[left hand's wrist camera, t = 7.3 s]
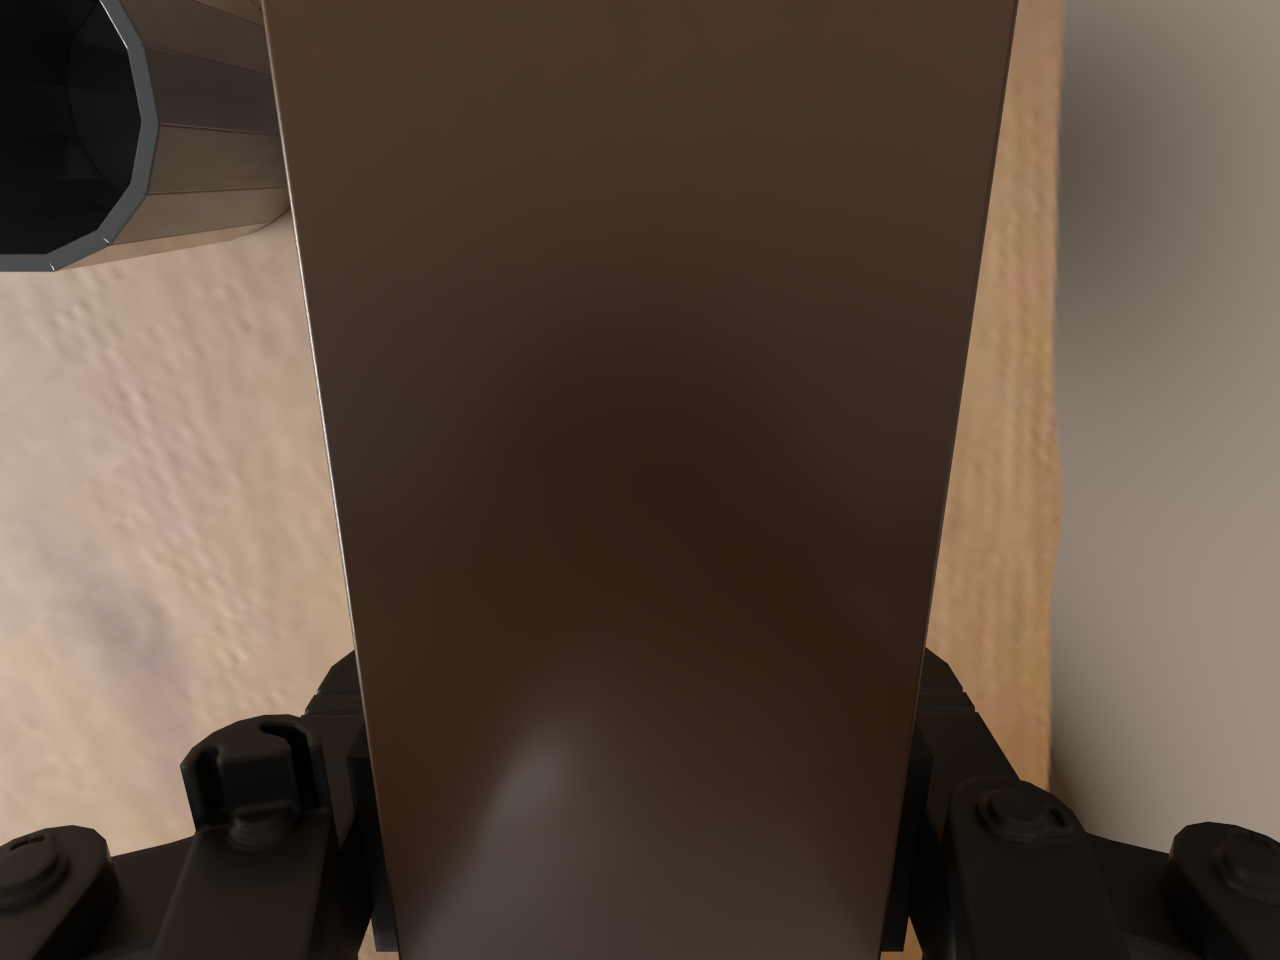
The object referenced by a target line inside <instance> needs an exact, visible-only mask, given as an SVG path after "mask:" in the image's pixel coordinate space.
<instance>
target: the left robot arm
mask: <svg viewBox="0 0 1280 960" xmlns="http://www.w3.org/2000/svg"><path fill="white" fill-rule="evenodd" d="M180 768H181V772H182V776H183V780H184V784H185V788H186V792H187V796H188V800H189V804H190V808H191V813H192V817H193V821H194V825H195V829H196V832H195V835H194V836H191V837H188V838H185V839H182V840H178V841H175V842H172V843H169V844H164V845H160V846H156V847H152V848H147V849H143V850H139V851H135V852H130V853H126V854H122V855H118V856H113V857H111V856H110V852H109V849H108V846H107V843H106V840H105V839H104V838H103V837H102V836H101V835H100V834H99V833H98V832H96V831H95V830H94V829H91V828H85V827H80V826H75V825H70V826H62V827H54V828H46V829H42V830H39V831H36V832H33V833H31V834H28V835H25V836H22V837H19V838H16V839H13V840H12V841H10V842H8V843H6V844H4V845H2V846H1V847H0V960H358V952H359V949H360V947H361V944H362V941H363V938H364V935H365V933H366V930H367V927H368V924H369V922H370V919H371V921H372V928H373V934H374V940H375V947H376V952H398V946H397V939H396V933H395V926H394V919H393V912H392V905H391V898H390V891H389V884H388V877H387V870H386V863H385V856H384V849H383V843H382V836H381V829H380V822H379V815H378V808H377V801H376V794H375V787H374V780H373V773H372V766H371V760H370V753H369V746H368V739H367V732H366V725H365V718H364V711H363V704H362V697H361V690H360V683H359V676H358V670H357V663H356V656H355V649H354V650H353V651H352V652H350V653H349V654H348V655H347V656H345V657H344V658H343V659H341V660H340V661H339V662H337V663H336V664H335V665H333V666H332V667H331V669H330V670H329V672H328V674H327V675H326V677H325V678H324V680H323V682H322V683H321V685H320V687H319V688H318V690H317V695H314V696H313V698H312V699H311V701H310V703H309V704H308V706H307V708H306V709H305V715H302V716H301V717H296V716H293V715H289V714H284V715H262V716H258V717H253V718H249V719H245V720H241V721H237V722H235V723H233V724H231V725H228V726H226V727H224V728H222V729H220V730H217V731H215V732H213V733H212V734H210V735H209V736H208V737H206V738H205V739H204V740H202V741H201V742H200V743H198V744H197V745H196V746H194V747H193V748H192V749H191V750H190V752H189V753H188V755H187V756H186V757H185V759H184V760H183V761H182V763H181V764H180ZM909 916H910V919H911V922H912V925H913V928H914V930H915V933H916V936H917V939H918V941H919V944H920V947H921V950H922V953H923V954H922V960H1280V843H1279V842H1277V841H1275V840H1274V839H1272V838H1270V837H1268V836H1266V835H1263V834H1260V833H1257V832H1254V831H1251V830H1248V829H1245V828H1242V827H1240V826H1236V825H1230V824H1222V823H1214V822H1203V823H1198V824H1192V825H1187V826H1186V827H1185V828H1183V829H1182V830H1181V831H1180V832H1179V833H1178V834H1177V835H1176V836H1175V837H1174V840H1173V843H1172V847H1171V850H1170V853H1169V854H1168V853H1164V852H1159V851H1155V850H1151V849H1146V848H1142V847H1138V846H1134V845H1129V844H1125V843H1121V842H1117V841H1112V840H1109V839H1106V838H1102V837H1099V836H1096V835H1093V834H1089V833H1087V832H1085V831H1084V829H1083V827H1082V826H1081V824H1080V822H1079V821H1078V819H1077V818H1076V816H1075V814H1074V813H1073V811H1072V810H1070V809H1069V808H1068V807H1067V806H1066V805H1065V804H1063V803H1062V802H1061V801H1060V800H1059V799H1057V798H1056V797H1055V796H1054V795H1053V794H1051V793H1049V792H1047V791H1045V790H1043V789H1041V788H1039V787H1037V786H1035V785H1033V784H1031V783H1029V782H1025V781H1021V780H1020V779H1019V777H1018V776H1017V774H1016V773H1015V771H1014V769H1013V768H1012V766H1011V765H1010V763H1009V761H1008V760H1007V758H1006V757H1005V755H1004V753H1003V752H1002V750H1001V749H1000V747H999V745H998V744H997V742H996V740H995V739H994V737H993V736H992V734H991V732H990V731H989V729H988V728H987V726H986V724H985V723H984V721H983V720H982V718H981V716H980V715H979V713H978V712H975V707H974V705H973V704H972V702H971V700H970V699H969V697H968V695H967V694H966V692H963V687H962V686H961V684H960V683H959V681H958V679H957V678H956V676H955V675H954V673H953V671H952V670H951V668H950V667H949V665H948V664H947V663H946V662H945V661H943V660H942V659H941V658H939V657H938V656H937V655H935V654H934V653H933V652H931V651H930V650H929V649H927V648H926V647H925V652H924V659H923V666H922V673H921V679H920V686H919V693H918V700H917V707H916V714H915V721H914V728H913V735H912V742H911V749H910V756H909V763H908V770H907V776H906V783H905V790H904V797H903V804H902V811H901V818H900V825H899V832H898V839H897V846H896V853H895V860H894V867H893V873H892V880H891V887H890V894H889V901H888V908H887V915H886V922H885V929H884V936H883V943H882V950H881V952H903V949H904V943H905V937H906V930H907V924H908V918H909Z"/></svg>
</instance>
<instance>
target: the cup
mask: <svg viewBox="0 0 1280 960" xmlns="http://www.w3.org/2000/svg"><path fill="white" fill-rule="evenodd" d="M289 206H290V199H289V192H288V185H287V178H286V171H285V164H284V157H283V151H282V144H281V137H280V130H279V123H278V116H277V109H276V102H275V95H274V88H273V81H272V74H271V68H270V61H269V54H268V47H267V40H266V33H265V26H264V19H263V13H262V12H261V11H260V10H258V9H257V8H256V7H255V6H254V5H253V4H252V3H250V2H249V1H248V0H0V272H56V271H61V270H67V269H72V268H78V267H84V266H89V265H95V264H101V263H106V262H112V261H118V260H123V259H129V258H135V257H140V256H146V255H151V254H157V253H163V252H168V251H174V250H180V249H185V248H191V247H197V246H202V245H208V244H214V243H219V242H225V241H230V240H232V239H235V238H237V237H239V236H243V235H246V234H249V233H252V232H254V231H257V230H259V229H261V228H262V227H264V226H266V225H268V224H270V223H271V222H272V221H274V220H275V219H276V218H277V217H279V216H280V215H281V214H282V213H283V212H284V211H285V210H286V209H287V208H288V207H289Z"/></svg>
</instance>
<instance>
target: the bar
mask: <svg viewBox="0 0 1280 960" xmlns="http://www.w3.org/2000/svg"><path fill="white" fill-rule="evenodd" d="M261 5H262V12H263V19H264V26H265V33H266V40H267V47H268V54H269V61H270V68H271V74H272V81H273V88H274V95H275V102H276V109H277V116H278V123H279V130H280V137H281V144H282V151H283V157H284V164H285V171H286V178H287V185H288V192H289V199H290V206H291V213H292V220H293V227H294V234H295V241H296V247H297V254H298V261H299V268H300V275H301V282H302V289H303V296H304V303H305V310H306V317H307V324H308V330H309V337H310V344H311V351H312V358H313V365H314V372H315V379H316V386H317V393H318V400H319V407H320V414H321V420H322V427H323V434H324V441H325V448H326V455H327V462H328V469H329V476H330V483H331V490H332V497H333V503H334V510H335V517H336V524H337V531H338V538H339V545H340V552H341V559H342V566H343V573H344V580H345V587H346V593H347V600H348V607H349V614H350V621H351V628H352V635H353V642H354V649H355V656H356V663H357V670H358V676H359V683H360V690H361V697H362V704H363V711H364V718H365V725H366V732H367V739H368V746H369V753H370V760H371V766H372V773H373V780H374V787H375V794H376V801H377V808H378V815H379V822H380V829H381V836H382V843H383V849H384V856H385V863H386V870H387V877H388V884H389V891H390V898H391V905H392V912H393V919H394V926H395V933H396V939H397V946H398V953H399V960H880V957H881V950H882V943H883V936H884V929H885V922H886V915H887V908H888V901H889V894H890V887H891V880H892V873H893V867H894V860H895V853H896V846H897V839H898V832H899V825H900V818H901V811H902V804H903V797H904V790H905V783H906V776H907V770H908V763H909V756H910V749H911V742H912V735H913V728H914V721H915V714H916V707H917V700H918V693H919V686H920V679H921V673H922V666H923V659H924V652H925V645H926V638H927V631H928V624H929V617H930V610H931V603H932V596H933V589H934V582H935V576H936V569H937V562H938V555H939V548H940V541H941V534H942V527H943V520H944V513H945V506H946V499H947V492H948V485H949V479H950V472H951V465H952V458H953V451H954V444H955V437H956V430H957V423H958V416H959V409H960V402H961V395H962V388H963V381H964V375H965V368H966V361H967V354H968V347H969V340H970V333H971V326H972V319H973V312H974V305H975V298H976V291H977V284H978V278H979V271H980V264H981V257H982V250H983V243H984V236H985V229H986V222H987V215H988V208H989V201H990V194H991V187H992V181H993V174H994V167H995V160H996V153H997V146H998V139H999V132H1000V125H1001V118H1002V111H1003V104H1004V97H1005V90H1006V83H1007V77H1008V70H1009V63H1010V56H1011V49H1012V42H1013V35H1014V28H1015V21H1016V14H1017V7H1018V0H261Z"/></svg>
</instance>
